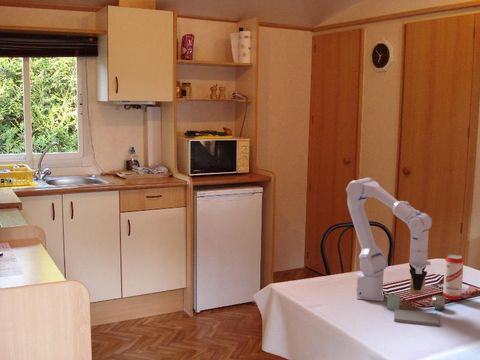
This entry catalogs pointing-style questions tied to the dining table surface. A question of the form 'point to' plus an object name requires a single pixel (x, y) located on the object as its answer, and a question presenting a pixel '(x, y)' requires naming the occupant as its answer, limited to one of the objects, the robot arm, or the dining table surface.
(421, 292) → the oak block
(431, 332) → the dining table surface
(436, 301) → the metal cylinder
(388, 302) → the olive green cube
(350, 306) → the dining table surface
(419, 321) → the slate board
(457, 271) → the beer can
